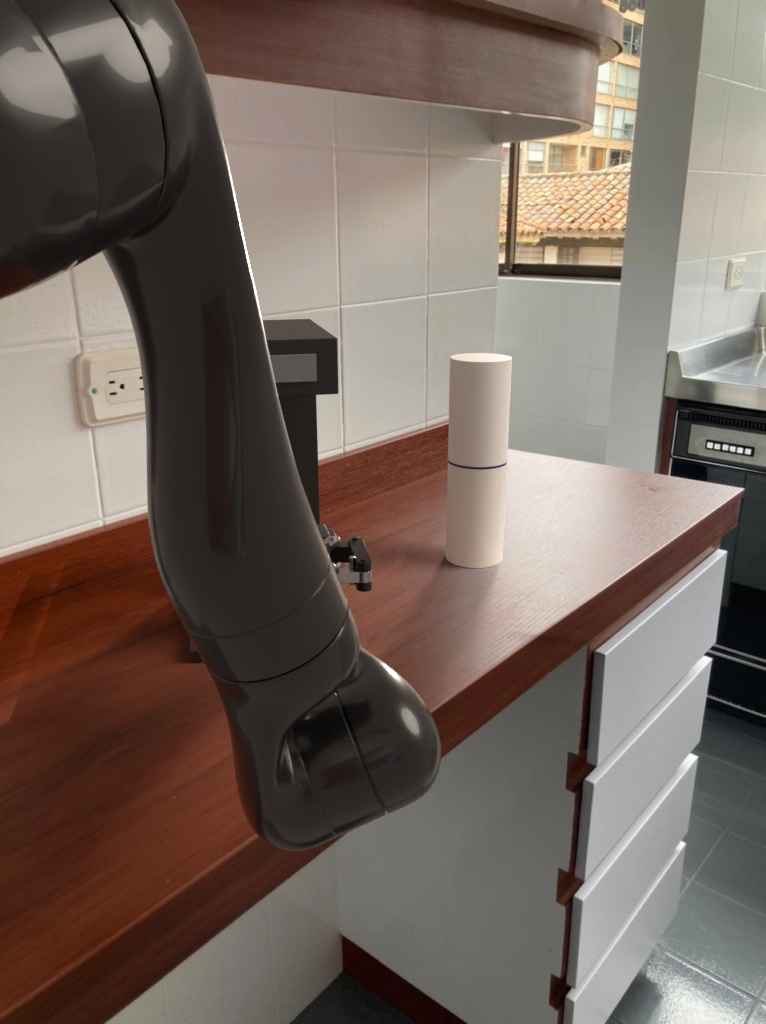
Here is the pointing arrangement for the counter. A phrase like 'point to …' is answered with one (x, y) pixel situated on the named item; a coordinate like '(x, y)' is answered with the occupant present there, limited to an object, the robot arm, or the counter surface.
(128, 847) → the counter surface
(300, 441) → the coffee maker
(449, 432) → the cylindrical container
